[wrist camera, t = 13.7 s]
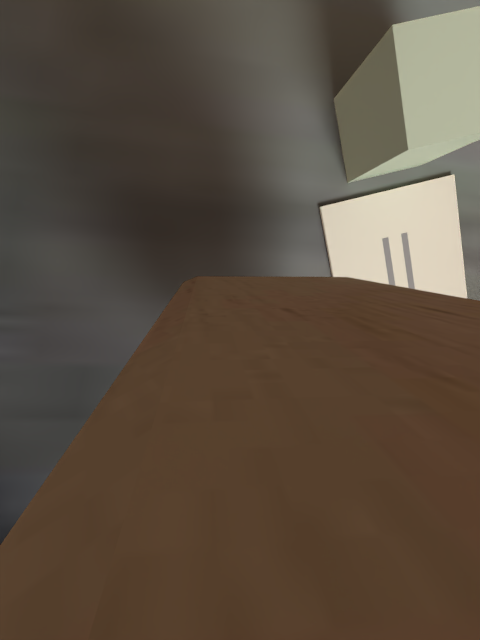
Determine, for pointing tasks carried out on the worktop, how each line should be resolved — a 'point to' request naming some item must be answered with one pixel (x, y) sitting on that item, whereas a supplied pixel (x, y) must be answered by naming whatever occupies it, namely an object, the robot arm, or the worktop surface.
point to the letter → (399, 238)
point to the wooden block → (268, 476)
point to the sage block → (412, 96)
